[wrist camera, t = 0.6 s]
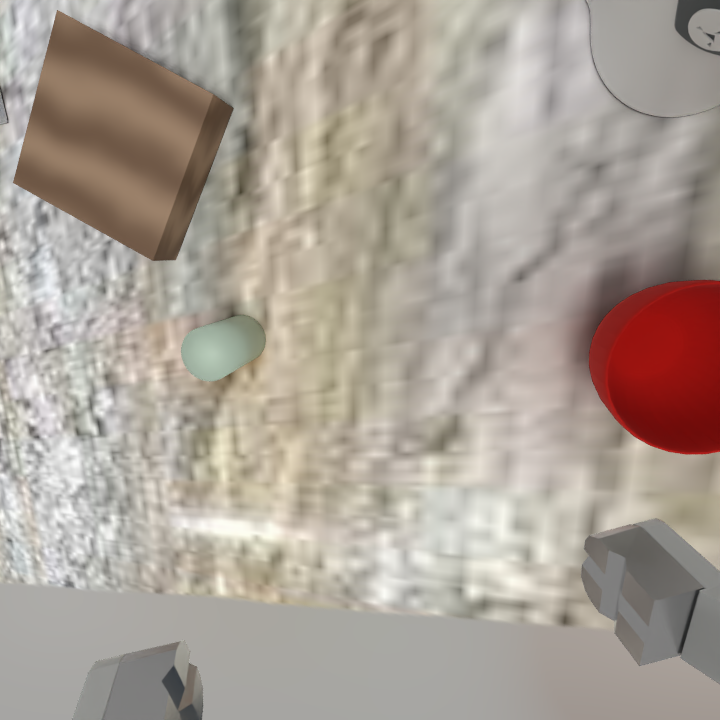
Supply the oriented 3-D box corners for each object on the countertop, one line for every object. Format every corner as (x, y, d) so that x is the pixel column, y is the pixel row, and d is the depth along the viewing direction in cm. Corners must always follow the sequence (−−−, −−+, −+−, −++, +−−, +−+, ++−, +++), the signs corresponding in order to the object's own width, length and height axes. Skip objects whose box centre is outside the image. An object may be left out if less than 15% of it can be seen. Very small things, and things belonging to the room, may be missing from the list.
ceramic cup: (771, 395, 41) (872, 439, 32) (574, 418, 45) (611, 464, 35) (770, 252, 39) (879, 252, 29) (561, 288, 42) (596, 298, 33)
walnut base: (90, 31, 44) (57, 10, 40) (233, 108, 43) (213, 94, 40) (46, 188, 48) (13, 182, 45) (175, 259, 48) (152, 260, 44)
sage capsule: (232, 306, 48) (192, 317, 40) (273, 329, 48) (241, 344, 40) (214, 346, 49) (173, 364, 42) (254, 369, 49) (220, 390, 42)
